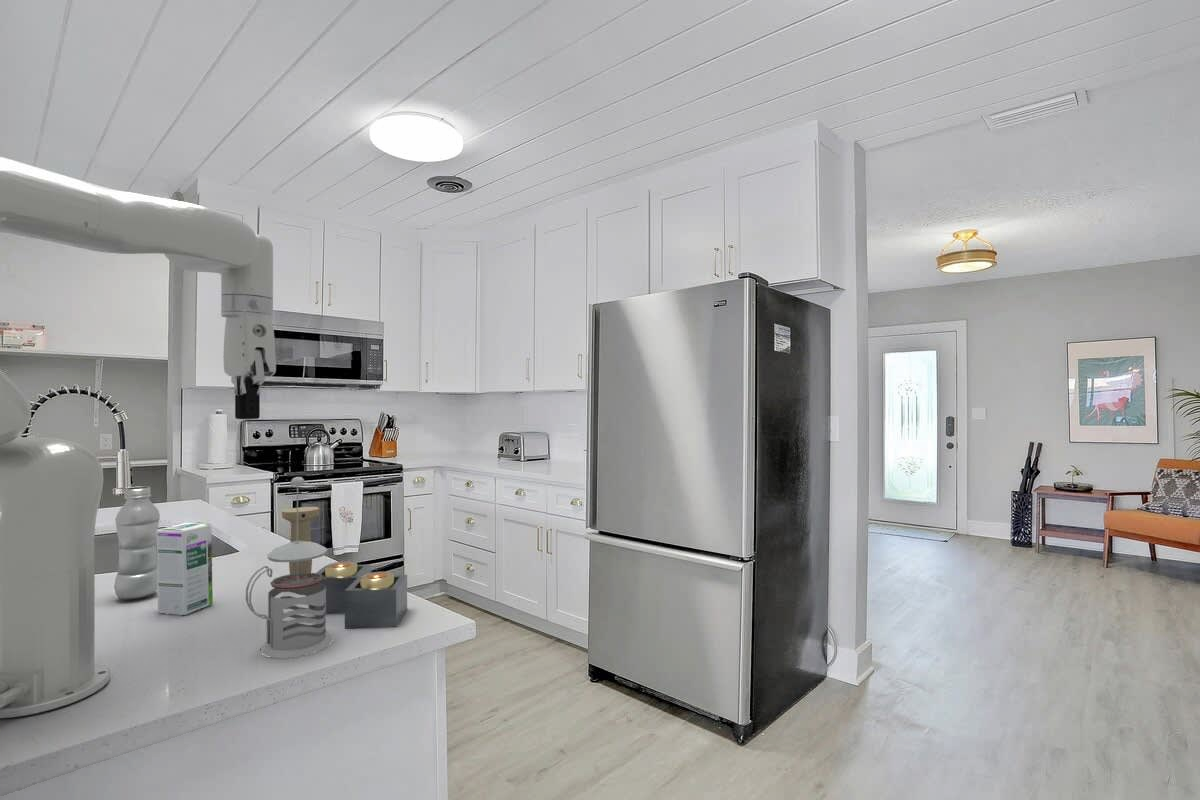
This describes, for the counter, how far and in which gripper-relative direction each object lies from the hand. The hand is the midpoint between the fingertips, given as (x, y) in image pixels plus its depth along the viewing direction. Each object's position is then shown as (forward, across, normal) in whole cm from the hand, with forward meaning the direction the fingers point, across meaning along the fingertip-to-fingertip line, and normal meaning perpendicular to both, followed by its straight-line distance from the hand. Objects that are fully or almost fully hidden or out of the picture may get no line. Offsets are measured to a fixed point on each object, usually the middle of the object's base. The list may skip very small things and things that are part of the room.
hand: (247, 418), depth 103 cm
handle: (+33, +8, -13) cm, 37 cm away
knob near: (+31, -18, -13) cm, 39 cm away
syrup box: (+33, +11, +6) cm, 36 cm away
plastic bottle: (+33, +25, +9) cm, 43 cm away
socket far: (+33, -7, -13) cm, 36 cm away
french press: (+33, -18, +1) cm, 38 cm away
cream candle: (+32, -7, -13) cm, 35 cm away
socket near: (+33, -18, -13) cm, 40 cm away
